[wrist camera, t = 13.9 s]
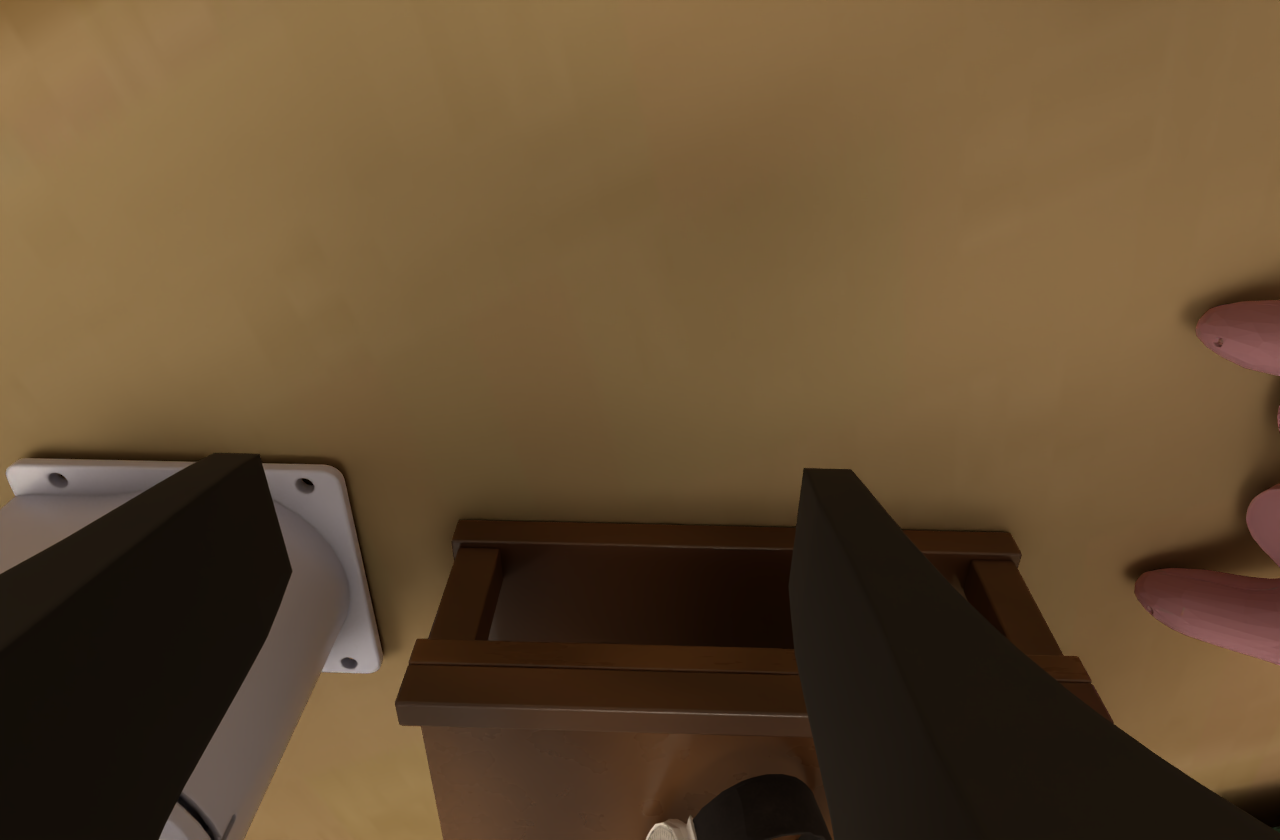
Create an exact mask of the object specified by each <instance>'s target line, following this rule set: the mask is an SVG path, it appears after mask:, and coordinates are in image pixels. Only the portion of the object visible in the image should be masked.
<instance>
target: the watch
mask: <svg viewBox="0 0 1280 840" xmlns="http://www.w3.org/2000/svg"><path fill="white" fill-rule="evenodd" d="M790 835H801V836H800V837H799V839H798V840H832V838H831V835H830V833H829V831H828V828H827V826H826V823H825V821H824V819H823V816H822V814H821V811H820V809H819V807H818V804H817V802H816V799H815V798H814V795H813V792H812V791H811V789H810V788H809V787H808V786H807V785H806V784H805V783H804V782H803V781H801V780H800V779H798V778H797V777H794V776H789V775H785V774H765V775H761V776H756V777H752V778H749V779H747V780H744V781H741V782H739V783H737V784H735V785H733V786H731V787H730V788H728V789H726V790H724V791H722V792H721V793H720V794H719V795H717V796H716V797H715V798H714V799H712V800H711V801H710V802H709V803H708V804H707V805H705V806H704V807H703V808H702V809H701V810H700V811H699V813H698V814H697V815H696V816H695V818H694V819H693V818H692V817H691V815H690V816H689V819H688V822H687V824H685V823H684V822H682V821H680V820H678V819H668V820H666V821H665V822H662V823H657V824H655V825H654V826H653V827H652V829H651V830H650V832H649V834H648V835H647V837H646V840H771V839H774V838H778V837H782V836H790Z"/></svg>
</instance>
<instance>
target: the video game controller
mask: <svg viewBox="0 0 1280 840" xmlns="http://www.w3.org/2000/svg"><path fill="white" fill-rule="evenodd" d="M1195 330H1196V335H1197V337H1198V338H1199V339H1200V340H1201V341H1202V342H1203V343H1204V344H1205V345H1206V347H1208V348H1209V349H1211V350H1212V351H1214V352H1215V353H1217V354H1218V355H1220V356H1221V357H1223V358H1225V359H1227V360H1229V361H1231V362H1234V363H1236V364H1238V365H1240V366H1242V367H1244V368H1247V369H1251V370H1255V371H1260V372H1264V373H1268V374H1272V375H1277V376H1280V300H1265V301H1243V302H1237V303H1231V304H1225V305H1220V306H1216V307H1213V308H1210V309H1209V310H1208V311H1207V312H1206V313H1205V314H1204V315H1203V316H1202V317H1201V318H1200V319H1199V321H1198V324H1197V326H1196V329H1195ZM1277 422H1278V428H1279V432H1280V406H1279V409H1278V414H1277ZM1246 522H1247V526H1248V529H1249V531H1250V533H1251V536H1252V537H1253V539H1254V540H1255V541H1256V542H1257V544H1258V545H1259V546H1260V547H1261V548H1262V550H1263V551H1264V552H1265V553H1266V554H1267V555H1268V556H1269V557H1270V558H1271V559H1272V560H1273V561H1274V562H1275V563H1276V564H1277V565H1278V566H1279V567H1280V483H1278V484H1276V485H1274V486H1272V487H1270V488H1268V489H1267V490H1265V491H1263V492H1262V493H1260V494H1259V495H1257V496H1256V497H1255V498H1254V499H1253V500H1252V501H1251V503H1250V505H1249V507H1248V509H1247V515H1246ZM1134 593H1135V595H1136V597H1137V599H1138V601H1139V602H1140V603H1141V604H1142V606H1143V607H1144V608H1145V609H1146V610H1147V611H1148V612H1149V613H1150V614H1151V615H1152V616H1154V617H1155V618H1156V619H1157V620H1159V621H1160V622H1162V623H1163V624H1165V625H1167V626H1168V627H1170V628H1171V629H1173V630H1176V631H1178V632H1180V633H1182V634H1184V635H1187V636H1190V637H1193V638H1196V639H1199V640H1202V641H1205V642H1208V643H1211V644H1214V645H1217V646H1220V647H1223V648H1226V649H1229V650H1233V651H1236V652H1239V653H1242V654H1246V655H1249V656H1252V657H1256V658H1259V659H1262V660H1265V661H1269V662H1271V663H1274V664H1277V665H1280V578H1278V579H1267V578H1256V577H1247V576H1241V575H1235V574H1229V573H1223V572H1217V571H1211V570H1205V569H1185V568H1166V569H1158V570H1153V571H1149V572H1145V573H1143V574H1142V575H1141V576H1140V577H1139V578H1138V579H1137V581H1136V582H1135V591H1134Z"/></svg>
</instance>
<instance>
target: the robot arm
mask: <svg viewBox="0 0 1280 840" xmlns="http://www.w3.org/2000/svg"><path fill="white" fill-rule="evenodd" d="M59 474H61V475H63V476H64V477H65V478H66V479H64V478H63V477H61V476H60V475H59ZM6 476H7V480H8V482H9V484H10V486H11V488H12V490H13V492H14V494H15V497H14V498H13V499H11V500H10V501H9V502H8V503H7V504H6V505H5V506H4V507H2V508H1V509H0V840H244V838H245V836H246V834H247V831H248V829H249V827H250V825H251V823H252V821H253V818H254V816H255V814H256V812H257V810H258V808H259V805H260V803H261V801H262V799H263V797H264V795H265V792H266V790H267V788H268V786H269V784H270V782H271V779H272V777H273V775H274V773H275V771H276V769H277V766H278V764H279V762H280V760H281V758H282V756H283V753H284V751H285V749H286V747H287V745H288V743H289V740H290V738H291V736H292V734H293V732H294V730H295V727H296V725H297V723H298V721H299V719H300V717H301V715H302V712H303V710H304V708H305V706H306V704H307V702H308V699H309V697H310V695H311V693H312V691H313V689H314V686H315V684H316V682H317V680H318V678H319V676H320V673H321V672H334V673H374V672H376V671H378V669H379V668H380V666H381V664H382V661H383V653H382V648H381V643H380V639H379V634H378V630H377V625H376V621H375V616H374V611H373V607H372V602H371V598H370V593H369V588H368V584H367V579H366V575H365V570H364V566H363V561H362V556H361V552H360V547H359V543H358V538H357V534H356V529H355V524H354V520H353V515H352V511H351V506H350V502H349V497H348V492H347V488H346V483H345V479H344V477H343V475H342V473H341V472H340V471H339V470H338V469H336V468H334V467H332V466H329V465H324V464H278V463H262V461H261V458H260V454H239V453H213V454H211V455H209V456H207V457H205V458H203V459H201V460H199V461H197V462H185V461H138V460H92V459H45V458H22V459H18V460H17V461H15V462H14V463H13V464H12V465H10V466H9V467H8V468H7V470H6ZM301 478H305V479H308V480H310V481H311V482H312V483H313V484H314V485H308V484H306V483H304V482H303V481H302V479H301ZM788 587H789V598H790V610H791V621H792V631H793V641H794V651H795V658H796V663H797V667H798V672H799V677H800V681H801V686H802V691H803V695H804V700H805V705H806V709H807V714H808V718H809V723H810V727H811V732H812V736H813V741H814V745H815V750H816V754H817V759H818V763H819V768H820V772H821V777H822V781H823V786H824V791H825V795H826V800H827V804H828V809H829V813H830V819H831V824H832V830H833V836H834V840H1280V833H1279V832H1277V831H1276V830H1274V829H1272V828H1271V827H1269V826H1267V825H1266V824H1264V823H1262V822H1261V821H1259V820H1258V819H1256V818H1254V817H1253V816H1251V815H1250V814H1248V813H1246V812H1245V811H1243V810H1242V809H1240V808H1238V807H1237V806H1235V805H1234V804H1232V803H1230V802H1229V801H1227V800H1225V799H1224V798H1222V797H1221V796H1219V795H1217V794H1216V793H1214V792H1213V791H1211V790H1209V789H1208V788H1206V787H1205V786H1203V785H1201V784H1200V783H1198V782H1197V781H1195V780H1194V779H1192V778H1191V777H1189V776H1188V775H1186V774H1185V773H1183V772H1182V771H1180V770H1179V769H1177V768H1176V767H1174V766H1173V765H1171V764H1170V763H1168V762H1167V761H1165V760H1164V759H1162V758H1161V757H1159V756H1158V755H1156V754H1155V753H1153V752H1152V751H1151V750H1149V749H1148V748H1146V747H1145V746H1144V745H1142V744H1141V743H1139V742H1138V741H1137V740H1135V739H1134V738H1132V737H1131V736H1130V735H1128V734H1127V733H1125V732H1124V731H1123V730H1121V729H1120V728H1118V727H1117V726H1116V725H1114V724H1113V723H1111V722H1110V721H1109V720H1107V719H1106V718H1104V717H1103V716H1102V715H1100V714H1099V713H1098V712H1096V711H1095V710H1094V709H1092V708H1091V707H1090V706H1088V705H1087V704H1086V703H1084V702H1083V701H1082V700H1081V699H1079V698H1078V697H1077V696H1075V695H1074V694H1073V693H1071V692H1070V691H1069V690H1068V689H1066V688H1065V687H1064V686H1063V685H1062V684H1060V683H1059V682H1058V681H1057V680H1055V679H1054V678H1053V677H1052V676H1051V675H1049V674H1048V673H1047V672H1046V671H1045V670H1043V669H1042V668H1041V667H1040V666H1039V665H1037V664H1036V663H1035V662H1034V661H1033V660H1031V659H1030V658H1029V657H1028V656H1027V655H1025V654H1024V653H1023V652H1022V651H1021V650H1019V649H1018V648H1017V647H1016V646H1015V645H1014V644H1013V643H1012V642H1010V641H1009V640H1008V639H1007V638H1006V637H1005V636H1004V635H1003V634H1001V633H1000V632H999V631H998V630H997V629H996V628H995V627H994V626H993V625H992V624H991V623H990V622H989V621H988V620H987V619H986V618H985V617H984V616H982V615H981V614H980V613H979V612H978V611H977V610H976V609H975V608H974V607H973V606H972V605H971V604H970V603H969V602H968V601H967V600H966V599H965V598H964V597H963V596H962V595H961V594H960V593H959V592H958V591H957V590H956V589H955V588H954V587H953V586H952V585H951V584H950V583H949V582H948V581H947V579H946V578H945V577H944V576H943V575H942V574H941V573H940V572H939V571H938V570H937V569H936V567H935V566H934V565H933V564H932V563H931V562H930V561H929V560H928V559H927V558H926V557H925V556H924V554H923V553H922V552H921V551H920V550H919V549H918V548H917V547H916V546H915V544H914V543H913V542H912V541H911V540H910V539H909V538H908V536H907V535H906V534H905V533H904V532H903V531H902V529H901V528H900V527H899V526H898V525H897V524H896V522H895V521H894V520H893V519H892V518H891V516H890V515H889V514H888V513H887V512H886V510H885V509H884V508H883V507H882V506H881V504H880V503H879V502H878V501H877V500H876V498H875V497H874V496H873V495H872V493H871V492H870V491H869V490H868V489H867V487H866V486H865V485H864V484H863V483H862V481H861V480H860V479H859V478H858V477H857V476H856V474H855V473H854V472H853V471H852V470H851V469H816V468H804V470H803V478H802V485H801V493H800V501H799V508H798V516H797V524H796V532H795V539H794V547H793V555H792V563H791V570H790V578H789V586H788ZM348 657H349V658H348ZM350 658H353V659H350Z"/></svg>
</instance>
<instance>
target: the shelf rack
mask: <svg viewBox="0 0 1280 840" xmlns="http://www.w3.org/2000/svg"><path fill="white" fill-rule="evenodd" d="M902 531H903V532H904V533H905V534H906V535H907V536H908V538H909V539H910V540H911V541H912V542H913V543H914V544H915V546H916V547H917V548H918V549H919V550H920V551H921V552H922V553H923V554H924V556H925V557H926V558H927V559H928V560H929V561H930V562H931V563H932V564H933V565H934V566H935V567H936V569H937V570H938V571H939V572H940V573H941V574H942V575H943V576H944V577H945V578H946V579H947V581H948V582H949V583H950V584H951V585H952V586H953V587H954V588H955V589H956V590H957V591H958V592H959V593H960V594H961V595H962V596H963V597H964V598H965V599H966V600H967V601H968V602H969V603H970V604H971V605H972V606H973V607H974V608H975V609H976V610H977V611H978V612H979V613H980V614H981V615H982V616H984V617H985V618H986V619H987V620H988V621H989V622H990V623H991V624H992V625H993V626H994V627H995V628H996V629H997V630H998V631H999V632H1000V633H1001V634H1003V635H1004V636H1005V637H1006V638H1007V639H1008V640H1009V641H1010V642H1012V643H1013V644H1014V645H1015V646H1016V647H1017V648H1018V649H1019V650H1021V651H1022V652H1023V653H1024V654H1025V655H1027V656H1028V657H1029V658H1030V659H1031V660H1033V661H1034V662H1035V663H1036V664H1037V665H1039V666H1040V667H1041V668H1042V669H1043V670H1045V671H1046V672H1047V673H1048V674H1049V675H1051V676H1052V677H1053V678H1054V679H1055V680H1057V681H1058V682H1059V683H1060V684H1062V685H1063V686H1064V687H1065V688H1066V689H1068V690H1069V691H1070V692H1071V693H1073V694H1074V695H1075V696H1077V697H1078V698H1079V699H1081V700H1082V701H1083V702H1084V703H1086V704H1087V705H1088V706H1090V707H1091V708H1092V709H1094V710H1095V711H1096V712H1098V713H1099V714H1100V715H1102V716H1103V717H1104V718H1106V719H1107V720H1109V721H1110V722H1111V723H1113V720H1112V719H1111V717H1110V715H1109V713H1108V711H1107V709H1106V708H1105V706H1104V704H1103V702H1102V700H1101V698H1100V697H1099V695H1098V693H1097V691H1096V689H1095V687H1094V686H1093V685H1092V684H1091V679H1090V677H1089V675H1088V673H1087V672H1086V670H1085V668H1084V666H1083V664H1082V662H1081V661H1080V659H1079V657H1077V656H1064V655H1063V654H1062V652H1061V650H1060V648H1059V646H1058V644H1057V642H1056V640H1055V638H1054V637H1053V635H1052V633H1051V631H1050V629H1049V627H1048V625H1047V623H1046V621H1045V620H1044V618H1043V616H1042V614H1041V612H1040V610H1039V608H1038V606H1037V604H1036V603H1035V601H1034V599H1033V597H1032V595H1031V593H1030V591H1029V589H1028V587H1027V586H1026V584H1025V582H1024V580H1023V578H1022V576H1021V574H1020V572H1019V570H1018V565H1019V562H1020V559H1021V556H1022V554H1021V552H1020V550H1019V548H1018V546H1017V544H1016V543H1015V541H1014V539H1013V537H1012V535H1011V534H1010V533H1008V532H966V531H922V530H902ZM795 532H796V528H792V527H749V526H705V525H662V524H618V523H575V522H531V521H488V520H459V521H458V524H457V526H456V529H455V532H454V535H453V538H452V541H451V542H452V549H453V556H454V563H453V566H452V569H451V572H450V575H449V578H448V581H447V584H446V587H445V590H444V593H443V596H442V599H441V602H440V605H439V608H438V611H437V614H436V617H435V620H434V623H433V626H432V629H431V632H430V635H429V638H428V639H417V640H416V643H415V645H414V648H413V651H412V654H411V657H410V660H409V666H408V667H407V670H406V673H405V676H404V678H403V681H402V684H401V687H400V690H399V693H398V695H397V698H396V701H395V707H396V711H397V716H398V721H399V724H400V725H402V726H421V728H422V733H423V738H424V743H425V749H426V754H427V759H428V764H429V769H430V774H431V779H432V784H433V789H434V794H435V799H436V804H437V809H438V814H439V819H440V824H441V829H442V834H443V840H646V837H647V835H648V834H649V832H650V830H651V829H652V827H653V826H654V825H655V824H657V823H662V822H665V821H666V820H668V819H678V820H680V821H682V822H684V823H685V824H687V822H688V819H689V816H690V815H691V817H692V818H693V819H694V818H695V816H696V815H697V814H698V813H699V811H700V810H701V809H702V808H703V807H704V806H705V805H707V804H708V803H709V802H710V801H711V800H712V799H714V798H715V797H716V796H717V795H719V794H720V793H721V792H722V791H724V790H726V789H728V788H730V787H731V786H733V785H735V784H737V783H739V782H741V781H744V780H747V779H749V778H752V777H756V776H761V775H765V774H785V775H789V776H794V777H797V778H798V779H800V780H801V781H803V782H804V783H805V784H806V785H807V786H808V787H809V788H810V789H811V791H812V792H813V795H814V798H815V799H816V802H817V804H818V807H819V809H820V811H821V814H822V816H823V819H824V821H825V823H826V826H827V828H828V831H829V833H830V835H831V838H832V840H834V836H833V830H832V824H831V819H830V813H829V809H828V804H827V800H826V795H825V791H824V786H823V781H822V777H821V772H820V768H819V763H818V759H817V754H816V750H815V745H814V741H813V736H812V732H811V727H810V723H809V718H808V714H807V709H806V705H805V700H804V695H803V691H802V686H801V681H800V677H799V672H798V667H797V663H796V658H795V651H794V641H793V631H792V621H791V610H790V598H789V587H788V586H789V578H790V570H791V563H792V555H793V547H794V539H795ZM1113 724H1114V723H1113ZM800 836H801V835H790V836H782V837H778V838H774V839H771V840H798V839H799V837H800Z"/></svg>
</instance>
